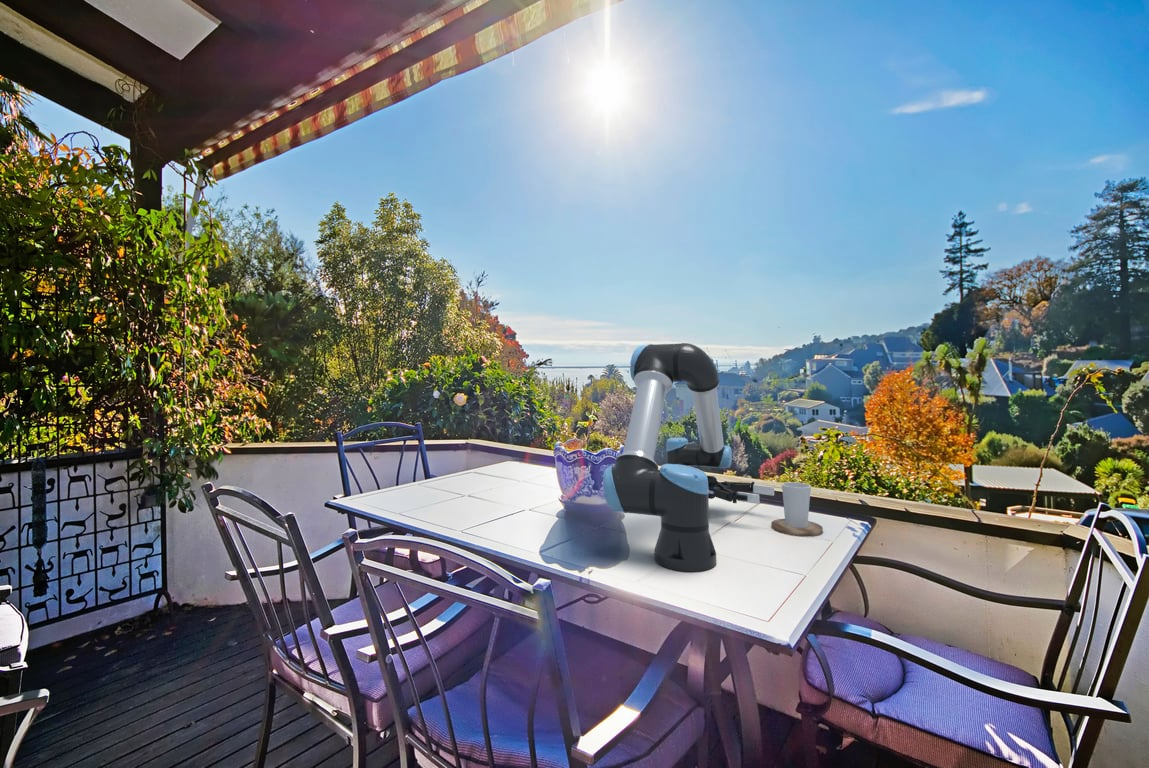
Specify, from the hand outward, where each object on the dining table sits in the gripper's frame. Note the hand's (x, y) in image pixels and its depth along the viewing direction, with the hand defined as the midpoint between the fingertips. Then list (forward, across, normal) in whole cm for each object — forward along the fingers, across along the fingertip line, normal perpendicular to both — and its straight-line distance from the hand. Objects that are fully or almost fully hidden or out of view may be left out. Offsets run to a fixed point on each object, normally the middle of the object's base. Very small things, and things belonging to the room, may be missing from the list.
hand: (766, 495), depth 151 cm
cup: (+9, 0, -8) cm, 12 cm away
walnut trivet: (+9, 0, -9) cm, 13 cm away
